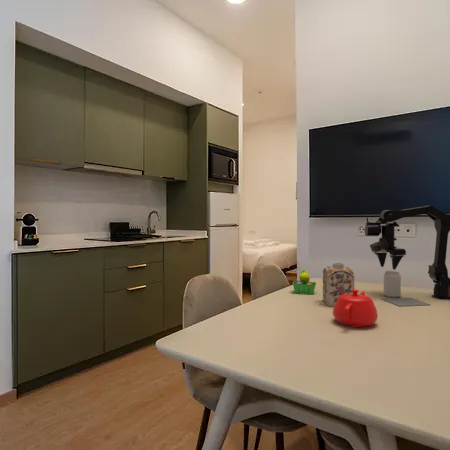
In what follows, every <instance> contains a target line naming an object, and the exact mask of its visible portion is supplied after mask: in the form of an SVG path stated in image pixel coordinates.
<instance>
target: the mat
mask: <svg viewBox="0 0 450 450" xmlns="http://www.w3.org/2000/svg"><path fill="white" fill-rule="evenodd" d="M381 300H382V301H384V302H387V303H390V304H391V305H394V306H397V307H416V306H417V307H421V306H431V305H432V304H430V303H427V302H424V301H422V300H418V299H417V298H414V297H398V298H391V297H387V298H381Z"/></svg>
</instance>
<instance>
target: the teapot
mask: <svg viewBox="0 0 450 450" xmlns="http://www.w3.org/2000/svg"><path fill="white" fill-rule="evenodd" d="M351 291H352V293H353V294H343V295H340V296H339V298H338V299H337V302H336V303H335V306H333V310H332V316H333V318H335V320H336V321H337V322H339V323H341V324H342V325H344V324H345V325H344V326H347V325H348V327H351V326H353V328H366V326H367V327H368V326H372V325H373V324H374V323H376V322H377V320H378V310H377V307H376V305H375V303H374V301H373V299H372V297H370V296H368V295H365V294H366V291H365V290H361V292H360V294H358V293H359V291H360V290H359V289H355V288H354V289H352V290H351Z"/></svg>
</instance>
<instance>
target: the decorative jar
mask: <svg viewBox="0 0 450 450" xmlns="http://www.w3.org/2000/svg"><path fill="white" fill-rule="evenodd" d="M352 289H355V273H354V270H353V269H352V268H351V267H348V266H345V264H344V263H343V262H333V263H332V265H331V266H330V265H329V266H325V267H324V268H323V270H322V300H323V302H324V303H325V304H326V306H327V307H334V306H335V303H336V302H337V299H338V298H339V296H340V295H343V294H353V293H352V291H351V290H352Z"/></svg>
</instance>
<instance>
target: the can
mask: <svg viewBox="0 0 450 450" xmlns="http://www.w3.org/2000/svg"><path fill="white" fill-rule="evenodd" d="M401 282H402V276H401V274H400V272H399V271H395V270H386V271H385V272H384V274H383V295H384V296H385V297H387V298H400V297H401V295H402V293H401V291H402V290H401V289H402V287H401V286H402V285H401V284H402V283H401Z"/></svg>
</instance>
